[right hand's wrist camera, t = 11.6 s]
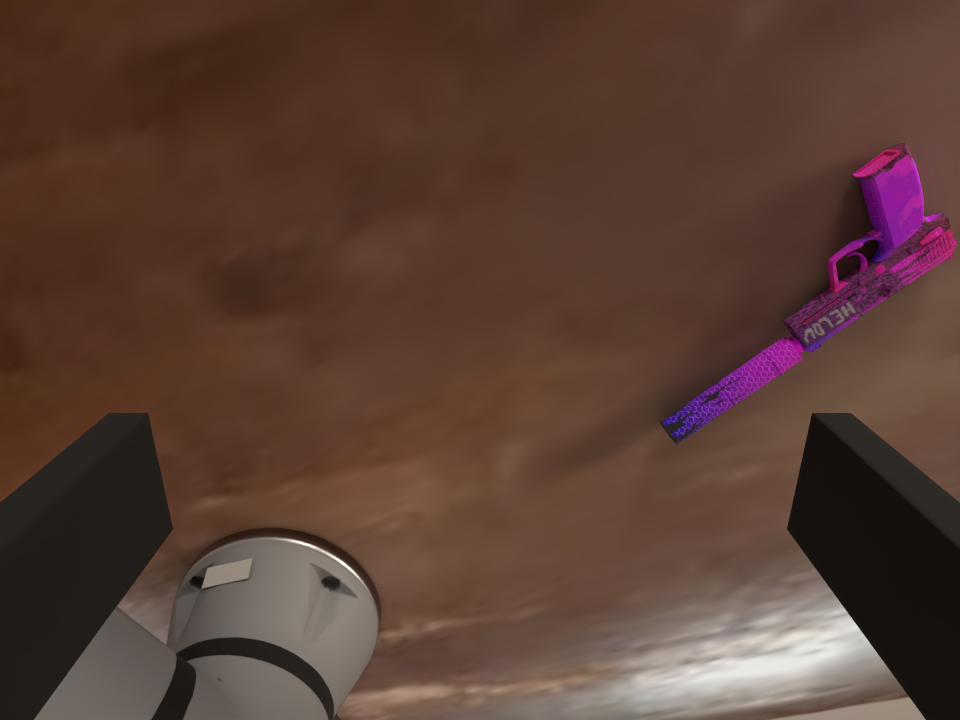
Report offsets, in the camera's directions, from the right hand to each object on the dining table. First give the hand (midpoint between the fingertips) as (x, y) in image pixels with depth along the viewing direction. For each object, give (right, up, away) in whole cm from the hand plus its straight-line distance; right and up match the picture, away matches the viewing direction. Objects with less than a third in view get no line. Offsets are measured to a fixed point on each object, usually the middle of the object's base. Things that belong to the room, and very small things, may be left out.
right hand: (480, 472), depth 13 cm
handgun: (+20, +6, +27) cm, 34 cm away
